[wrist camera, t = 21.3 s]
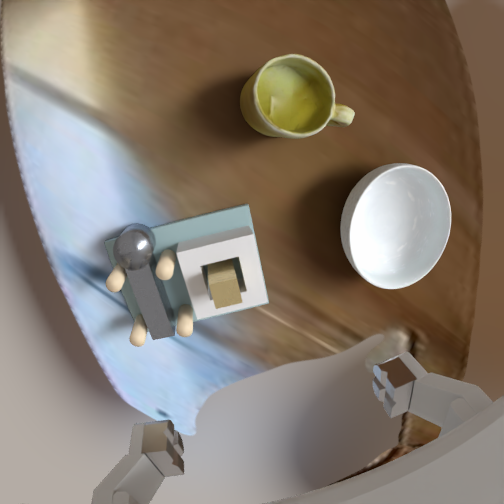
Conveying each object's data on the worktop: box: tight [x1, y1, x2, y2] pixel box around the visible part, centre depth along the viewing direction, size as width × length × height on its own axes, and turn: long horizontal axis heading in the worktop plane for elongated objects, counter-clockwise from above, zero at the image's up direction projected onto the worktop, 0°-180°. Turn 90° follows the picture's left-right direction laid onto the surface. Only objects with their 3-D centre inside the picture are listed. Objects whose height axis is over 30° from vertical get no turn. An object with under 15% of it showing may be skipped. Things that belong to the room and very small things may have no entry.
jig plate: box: [104, 204, 269, 347], centre depth 39 cm, size 14×19×6 cm
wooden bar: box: [207, 258, 243, 309], centre depth 37 cm, size 3×3×8 cm
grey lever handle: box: [113, 224, 176, 340], centre depth 38 cm, size 14×5×4 cm, turn 11°
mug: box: [240, 54, 355, 139], centre depth 33 cm, size 12×10×10 cm
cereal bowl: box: [340, 163, 451, 289], centre depth 40 cm, size 17×17×7 cm
